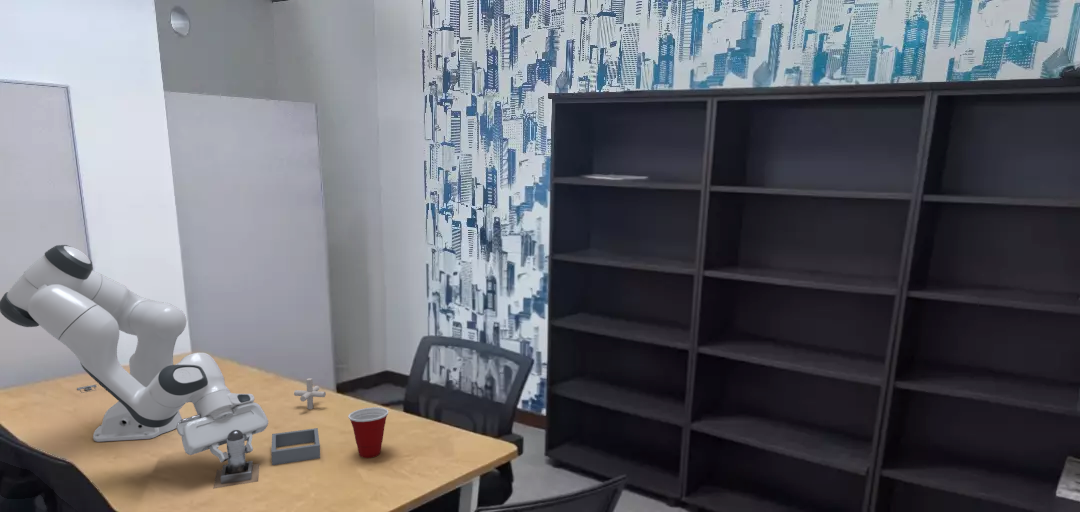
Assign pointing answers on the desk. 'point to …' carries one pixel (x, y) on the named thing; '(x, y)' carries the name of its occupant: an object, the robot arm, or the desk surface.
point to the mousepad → (87, 388)
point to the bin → (295, 452)
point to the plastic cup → (369, 430)
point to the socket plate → (237, 476)
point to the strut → (236, 452)
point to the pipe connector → (309, 393)
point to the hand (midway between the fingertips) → (237, 456)
